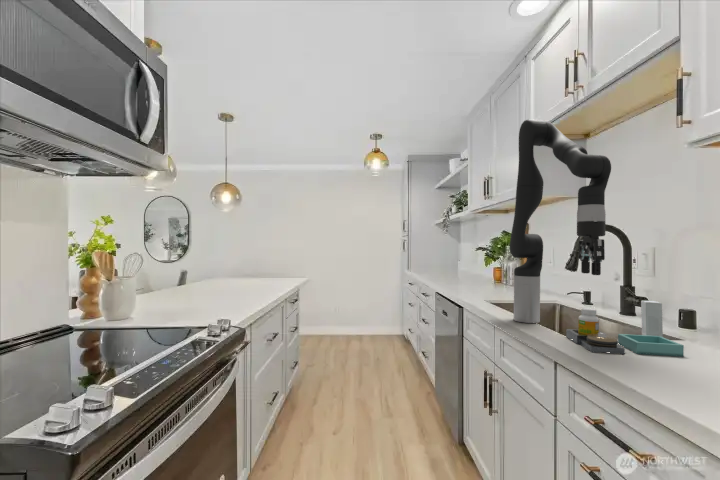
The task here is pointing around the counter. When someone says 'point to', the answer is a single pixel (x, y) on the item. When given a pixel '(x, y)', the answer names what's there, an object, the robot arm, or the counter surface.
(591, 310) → the supplement bottle
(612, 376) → the counter surface
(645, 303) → the skincare box
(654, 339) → the tray
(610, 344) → the bracket
